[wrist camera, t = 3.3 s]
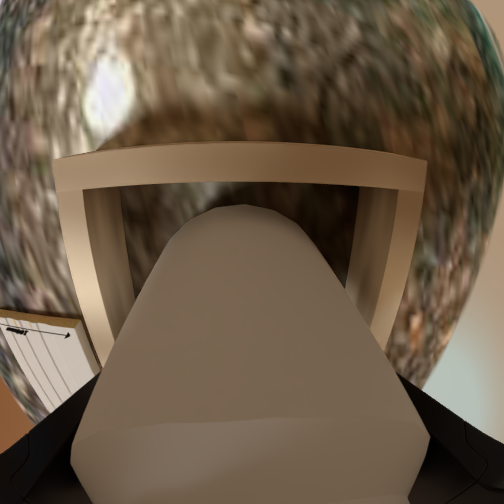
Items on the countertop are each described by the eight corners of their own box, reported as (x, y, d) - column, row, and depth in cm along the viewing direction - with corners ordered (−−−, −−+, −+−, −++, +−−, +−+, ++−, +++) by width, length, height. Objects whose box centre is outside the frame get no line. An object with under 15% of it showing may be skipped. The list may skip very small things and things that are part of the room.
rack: (337, 386, 18) (351, 425, 15) (143, 389, 17) (132, 429, 14) (384, 151, 12) (427, 160, 9) (94, 151, 11) (53, 159, 8)
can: (148, 314, 14) (78, 543, 3) (188, 175, 12) (-42, 464, 1) (279, 352, 16) (319, 564, 5) (343, 234, 13) (524, 461, 2)
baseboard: (104, 477, 26) (171, 489, 27) (101, 492, 24) (170, 506, 24) (-11, 301, 15) (84, 313, 15) (-31, 321, 12) (65, 341, 13)
